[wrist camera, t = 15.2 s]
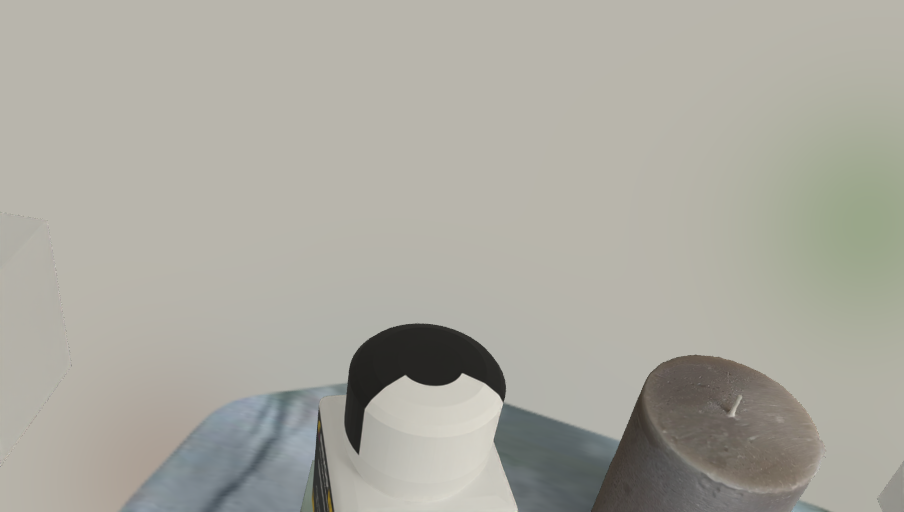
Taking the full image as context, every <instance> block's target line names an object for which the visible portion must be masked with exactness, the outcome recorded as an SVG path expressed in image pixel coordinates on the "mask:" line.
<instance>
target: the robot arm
mask: <svg viewBox="0 0 904 512" xmlns="http://www.w3.org/2000/svg"><path fill="white" fill-rule="evenodd" d="M71 366H72V365H71V359H70V353H69V347H68V341H67V335H66V329H65V323H64V317H63V311H62V305H61V299H60V293H59V287H58V281H57V275H56V268H55V263H54V256H53V250H52V244H51V239H50V232H49V227H48V221H47V220H42V219H37V218H31V217H24V216H19V215H13V214H7V213H2V212H0V467H1V465H2V464H3V462H4V461H5V459H6V458H7V456H8V455H9V454H10V452H11V451H12V449H13V448H14V447H15V445H16V444H17V442H18V441H19V440H20V438H21V437H22V435H23V434H24V432H25V431H26V430H27V428H28V427H29V425H30V424H31V423H32V421H33V420H34V418H35V417H36V416H37V414H38V413H39V411H40V410H41V408H42V407H43V406H44V404H45V403H46V401H47V400H48V399H49V397H50V396H51V394H52V393H53V392H54V390H55V389H56V387H57V386H58V384H59V383H60V382H61V380H62V379H63V377H64V376H65V375H66V373H67V371H68V370H69V369H70V367H71ZM877 500H878V502H879V505H880V507H881V509H882V511H883V512H904V462H903V463H902V465H901V466H900V467H899V469H898V470H897V471H896V473H895V474H894V476H893V477H892V479H891V480H890V481H889V483H888V484H887V485H886V487H885V488H884V490H883V491H882V492H881V494H880V495H879V497H878V498H877Z"/></svg>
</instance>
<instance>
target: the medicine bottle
mask: <svg viewBox="0 0 904 512" xmlns="http://www.w3.org/2000/svg"><path fill="white" fill-rule="evenodd" d="M505 392H506V385H505V379H504V376H503V373H502V371H501V369H500V367H499V365H498V363H497V362H496V361H495V359H494V358H493V357H492V355H491V354H490V353H489V352H488V351H487V350H486V349H485V348H484V347H483V346H482V345H481V344H479V343H478V342H477V341H475V340H474V339H472V338H471V337H469V336H467V335H465V334H463V333H461V332H459V331H456V330H453V329H450V328H447V327H443V326H438V325H432V324H406V325H400V326H396V327H393V328H389V329H387V330H384V331H382V332H380V333H378V334H377V335H375V336H373V337H371V338H370V339H369V340H367V341H366V342H365V343H363V345H361V347H360V348H359V349H358V350H357V352H356V353H355V355H354V356H353V358H352V361H351V364H350V368H349V376H348V386H347V395H337V396H326V397H323V398H322V399H321V400H320V403H319V412H318V425H317V437H316V450H315V463H314V476H313V489H312V506H313V512H518V507H517V505H516V502H515V499H514V496H513V494H512V491H511V488H510V485H509V483H508V480H507V477H506V474H505V472H504V469H503V466H502V463H501V461H500V458H499V455H498V452H497V450H496V447H495V444H494V441H493V440H494V436H495V433H496V429H497V425H498V421H499V417H500V414H501V410H502V406H503V402H504V398H505Z"/></svg>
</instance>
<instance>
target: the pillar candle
mask: <svg viewBox="0 0 904 512" xmlns="http://www.w3.org/2000/svg"><path fill="white" fill-rule="evenodd" d="M825 452H826V450H825V445H824V443H823V441H822V440H820V437H819V433H818V431H817V428H816V426H815V424H814V423H813V421H812V419H811V417H810V416H809V414H808V413H807V412H806V410H805V408H804V407H803V406H802V405H801V404H800V403H799V402H798V401H797V400H796V398H794V397H793V396H792V395H791V394H790V393H789V392H788V391H787V390H786V389H785V388H784V387H783V386H781V385H780V384H779V383H777V382H775V381H773V380H772V379H771V378H769V377H767V376H766V375H764V374H762V373H760V372H758V371H756V370H754V369H751V368H749V367H747V366H745V365H742V364H739V363H736V362H734V361H731V360H726V359H723V358H720V357H713V356H701V355H688V356H682V357H677V358H674V359H671V360H669V361H666V362H663V363H662V364H660V365H659V366H658V367H657V368H656V369H654V370H653V371H652V372H651V373H650V374H649V376H648V377H647V379H646V381H645V384H644V386H643V388H642V390H641V393H640V395H639V397H638V400H637V402H636V405H635V407H634V410H633V412H632V414H631V417H630V420H629V422H628V424H627V427H626V429H625V431H624V434H623V436H622V439H621V441H620V444H619V446H618V449H617V451H616V454H615V456H614V458H613V460H612V462H611V464H610V466H609V470H608V472H607V474H606V476H605V479H604V481H603V484H602V486H601V489H600V491H599V494H598V496H597V498H596V501H595V503H594V506H593V508H592V510H591V512H791V511H792V509H793V508H794V506H795V505H796V503H797V501H798V499H799V498H800V497H801V495H802V494H803V492H804V491H805V489H806V488H807V486H808V484H809V482H810V481H811V479H812V478H813V477H814V476H815V473H816V472H817V471H818V470H819V468H820V464H821V459H822V458H823V457H825Z"/></svg>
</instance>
